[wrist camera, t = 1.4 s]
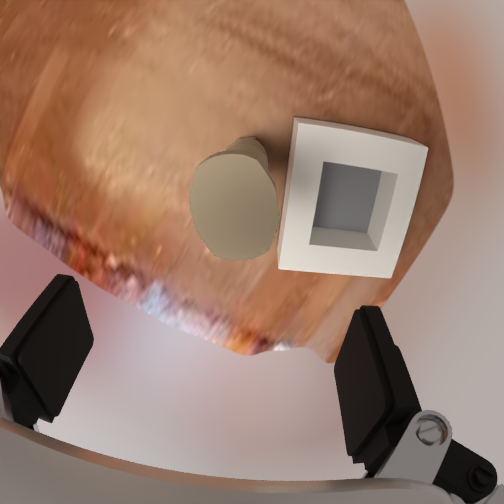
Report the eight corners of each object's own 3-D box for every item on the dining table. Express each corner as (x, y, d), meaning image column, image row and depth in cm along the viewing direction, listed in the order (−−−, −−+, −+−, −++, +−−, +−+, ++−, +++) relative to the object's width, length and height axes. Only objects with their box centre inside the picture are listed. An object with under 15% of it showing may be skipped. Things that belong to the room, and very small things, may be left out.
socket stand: (293, 116, 29) (298, 122, 24) (407, 136, 29) (428, 147, 24) (276, 244, 36) (278, 269, 31) (377, 253, 36) (390, 278, 32)
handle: (268, 116, 29) (271, 148, 16) (276, 179, 32) (283, 256, 19) (218, 123, 29) (179, 161, 16) (228, 184, 32) (203, 263, 20)
